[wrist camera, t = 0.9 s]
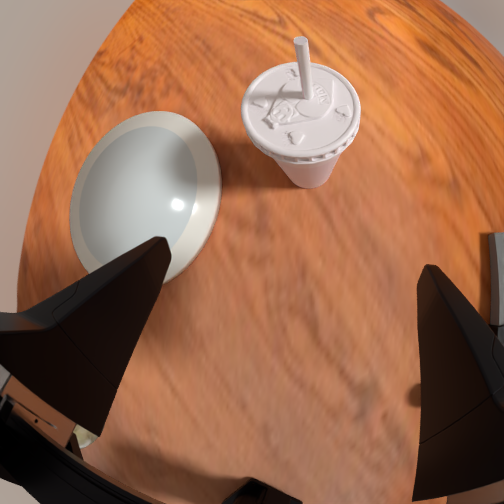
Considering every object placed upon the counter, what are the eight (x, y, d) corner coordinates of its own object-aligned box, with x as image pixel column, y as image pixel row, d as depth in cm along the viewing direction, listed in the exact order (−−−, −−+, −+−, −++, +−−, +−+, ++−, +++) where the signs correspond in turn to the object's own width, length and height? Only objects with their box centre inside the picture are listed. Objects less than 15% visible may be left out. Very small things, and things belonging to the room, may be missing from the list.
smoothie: (362, 174, 21) (405, 59, 8) (302, 221, 22) (277, 143, 9) (312, 120, 23) (296, -9, 9) (254, 163, 23) (184, 54, 10)
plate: (156, 329, 24) (149, 331, 23) (58, 231, 28) (51, 230, 27) (261, 155, 23) (258, 149, 22) (132, 100, 27) (126, 95, 26)
